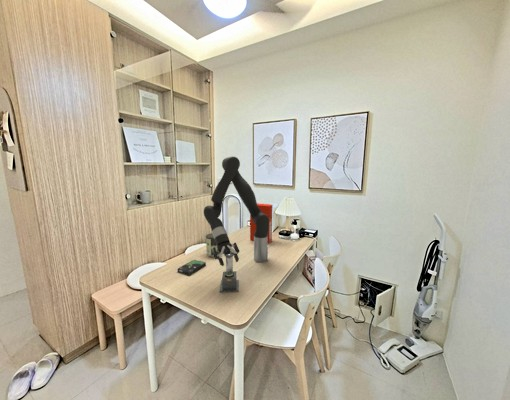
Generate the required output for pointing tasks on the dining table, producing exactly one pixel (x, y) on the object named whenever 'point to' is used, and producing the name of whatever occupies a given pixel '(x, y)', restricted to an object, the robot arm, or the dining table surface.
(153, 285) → the dining table surface
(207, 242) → the coffee can
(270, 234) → the file binder
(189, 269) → the disk drive
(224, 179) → the robot arm
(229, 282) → the stand
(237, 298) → the dining table surface
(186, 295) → the dining table surface
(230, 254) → the column
